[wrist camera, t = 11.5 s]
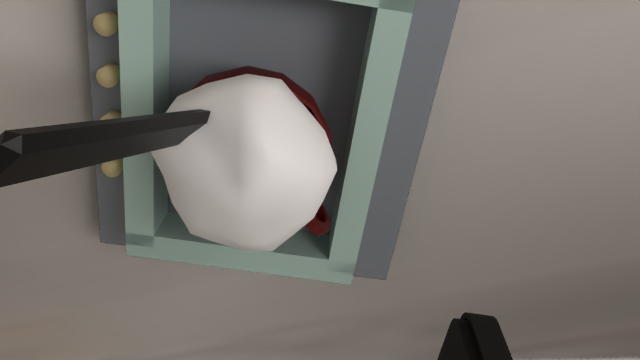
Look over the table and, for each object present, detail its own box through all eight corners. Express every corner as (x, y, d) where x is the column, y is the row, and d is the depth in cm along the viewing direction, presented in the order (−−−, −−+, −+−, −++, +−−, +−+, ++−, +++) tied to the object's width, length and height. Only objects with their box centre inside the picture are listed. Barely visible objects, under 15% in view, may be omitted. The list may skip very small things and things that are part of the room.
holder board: (464, -51, 19) (489, -48, 16) (383, 265, 25) (390, 307, 23) (92, -114, 18) (48, -123, 15) (110, 228, 25) (81, 267, 22)
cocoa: (351, 186, 22) (394, 429, 12) (222, 220, 23) (156, 478, 13) (288, -29, 18) (267, 57, 8) (131, 21, 19) (-90, 163, 8)
